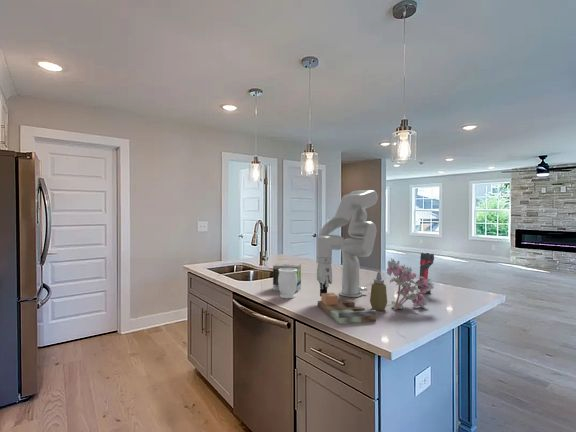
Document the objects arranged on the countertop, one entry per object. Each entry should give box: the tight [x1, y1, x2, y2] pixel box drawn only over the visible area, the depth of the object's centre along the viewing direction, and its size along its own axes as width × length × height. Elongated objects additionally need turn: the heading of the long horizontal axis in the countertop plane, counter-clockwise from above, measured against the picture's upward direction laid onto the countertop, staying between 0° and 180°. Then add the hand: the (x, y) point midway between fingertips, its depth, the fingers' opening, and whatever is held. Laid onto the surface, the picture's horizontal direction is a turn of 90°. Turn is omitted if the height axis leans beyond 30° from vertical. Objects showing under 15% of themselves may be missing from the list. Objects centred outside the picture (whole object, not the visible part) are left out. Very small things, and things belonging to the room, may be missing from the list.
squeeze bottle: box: [369, 271, 388, 312], centre depth 156 cm, size 8×8×18 cm
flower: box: [386, 257, 435, 311], centre depth 158 cm, size 20×22×25 cm
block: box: [320, 292, 339, 305], centre depth 157 cm, size 6×6×4 cm
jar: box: [278, 268, 297, 299], centre depth 176 cm, size 11×10×15 cm
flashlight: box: [417, 252, 435, 294], centre depth 190 cm, size 8×8×23 cm
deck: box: [317, 298, 377, 325], centre depth 149 cm, size 17×26×4 cm, turn 15°
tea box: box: [272, 263, 302, 293], centre depth 193 cm, size 15×10×15 cm, turn 76°
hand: (323, 296), depth 164 cm, fingers closed
